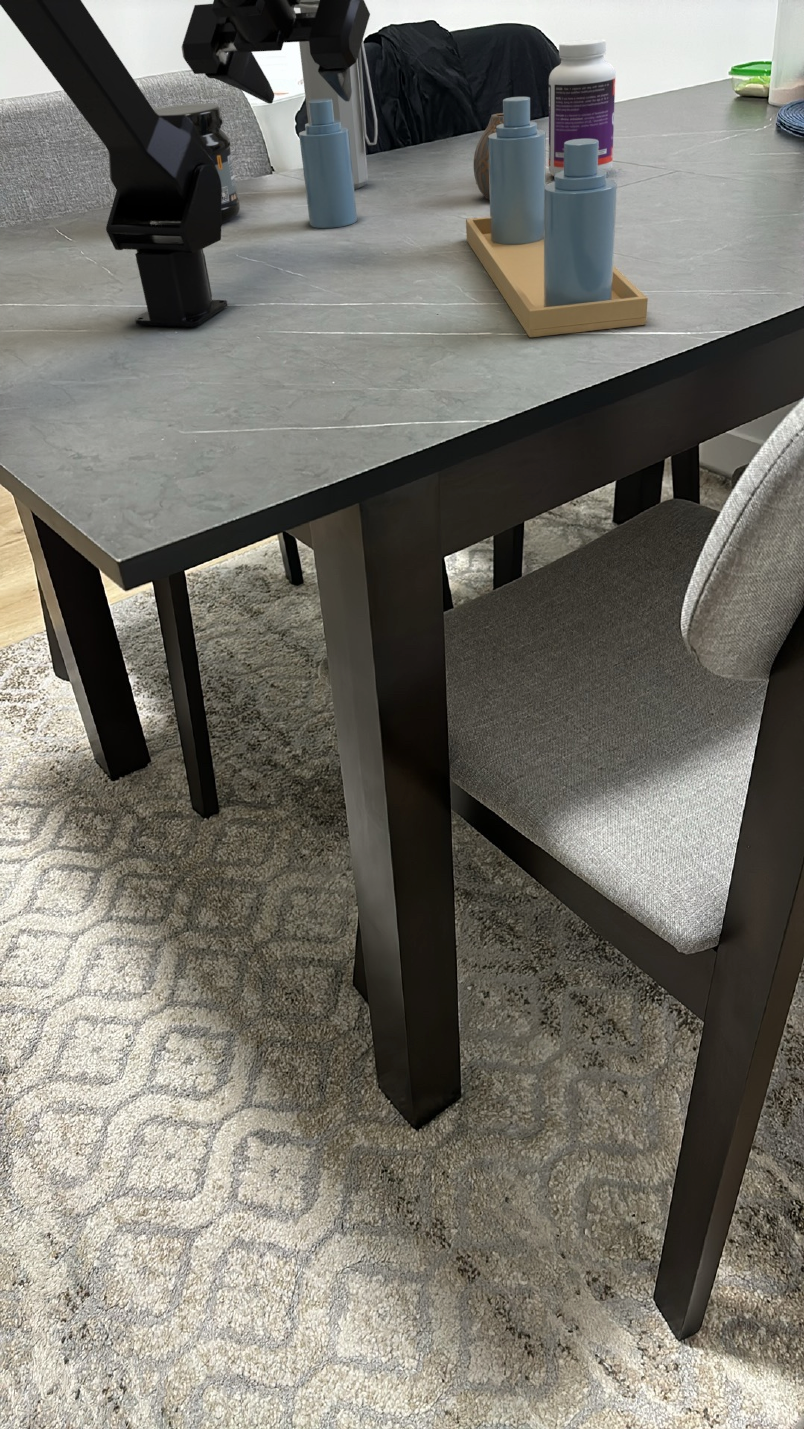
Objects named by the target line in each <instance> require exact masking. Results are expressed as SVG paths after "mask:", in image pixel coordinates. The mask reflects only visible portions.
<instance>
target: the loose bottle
mask: <svg viewBox="0 0 804 1429" xmlns="http://www.w3.org/2000/svg"><path fill="white" fill-rule="evenodd" d="M309 109H310V117H311V122H310V123H308V122H307V123H305V124H304V128H305V130H303V131H300V132H299V133H298V139H299V146H300V153H301V161H302V169H303V178H304V186H305V195H306V202H307V203H306V204H307V211H308V219H309V225H310V227H312V228H317V229H334V228H340V227H346V226H350V225H353V224H354V223H357V221H358V214H357V206H356V205H357V203H356V195H355V194H356V193H355V189H354V181H353V171H352V161H351V150H350V140H349V129H348V128H346V127H341V122H340V121H339V120H334V114H333V104H332V99H316V100H311V101H309Z"/></svg>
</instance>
